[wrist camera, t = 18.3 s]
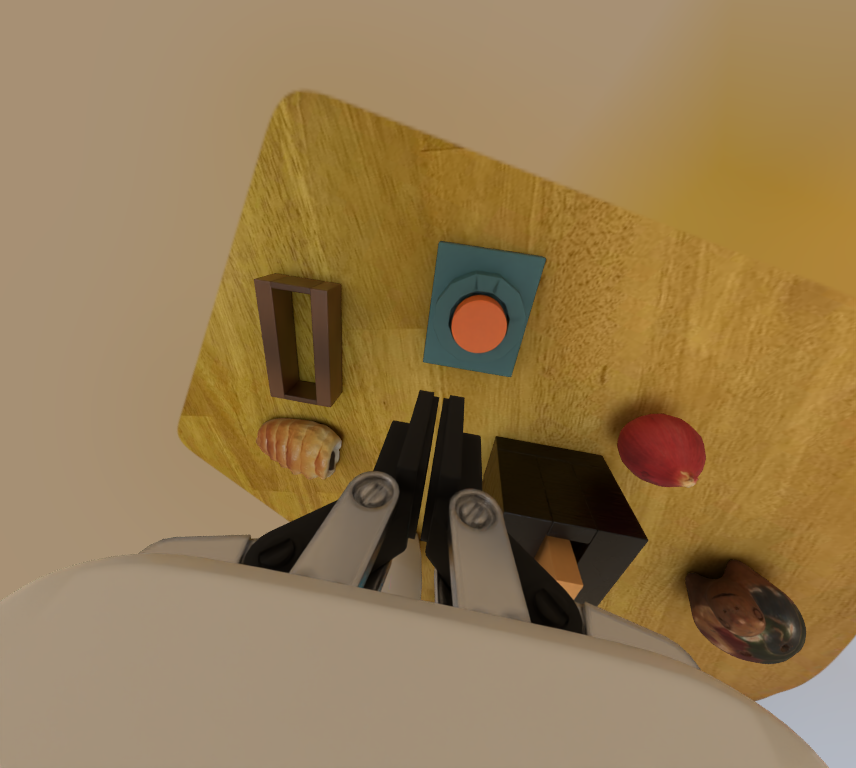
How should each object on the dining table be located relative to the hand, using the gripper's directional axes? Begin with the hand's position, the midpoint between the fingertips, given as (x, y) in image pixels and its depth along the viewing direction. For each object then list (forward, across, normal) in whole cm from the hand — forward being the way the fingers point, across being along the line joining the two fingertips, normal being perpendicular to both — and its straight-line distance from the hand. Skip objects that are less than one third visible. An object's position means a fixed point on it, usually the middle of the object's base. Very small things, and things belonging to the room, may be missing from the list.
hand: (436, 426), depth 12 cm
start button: (+14, -2, 0) cm, 14 cm away
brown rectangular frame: (+17, +13, +5) cm, 22 cm away
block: (+17, -2, 0) cm, 17 cm away
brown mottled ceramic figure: (+16, -38, +28) cm, 50 cm away
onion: (+17, -19, +8) cm, 27 cm away
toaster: (+16, -12, +20) cm, 29 cm away
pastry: (+17, +14, +18) cm, 28 cm away
